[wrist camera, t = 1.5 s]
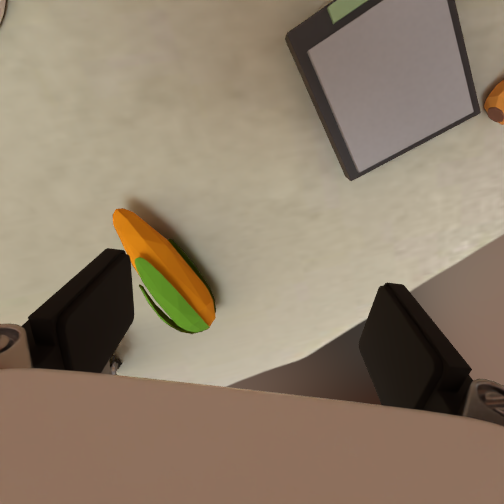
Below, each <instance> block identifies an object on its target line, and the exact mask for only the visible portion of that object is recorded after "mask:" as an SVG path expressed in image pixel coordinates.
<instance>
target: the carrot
mask: <svg viewBox="0 0 504 504" xmlns="http://www.w3.org/2000/svg"><path fill="white" fill-rule="evenodd" d="M484 108H485V110H486V111H487V114H488V116H489V118H490V119H492V120H493V121H495V122H499V123H500V124H502V125H503V124H504V80H503V81H501V82H500V83H499V84H497V85H496V87H495V88H494V89H493V90H492V92H491V93H490V94H489V96H488V97H487V99H486V102H485V105H484Z"/></svg>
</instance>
